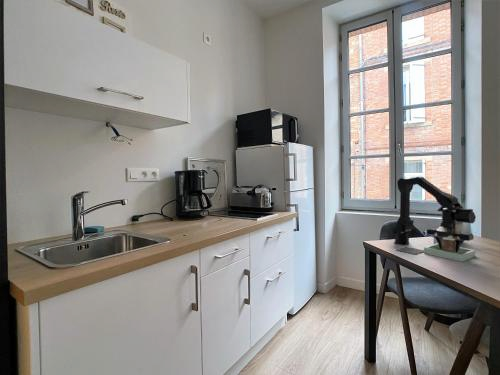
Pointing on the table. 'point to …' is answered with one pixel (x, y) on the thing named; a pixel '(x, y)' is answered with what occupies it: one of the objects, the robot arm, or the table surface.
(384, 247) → the table surface
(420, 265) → the table surface
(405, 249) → the mat
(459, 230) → the coffee box
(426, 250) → the green square frame
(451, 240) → the walnut block
